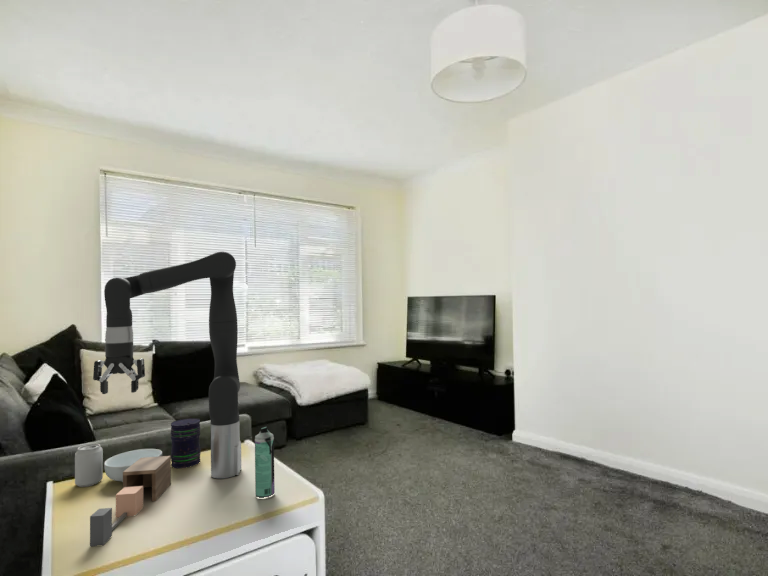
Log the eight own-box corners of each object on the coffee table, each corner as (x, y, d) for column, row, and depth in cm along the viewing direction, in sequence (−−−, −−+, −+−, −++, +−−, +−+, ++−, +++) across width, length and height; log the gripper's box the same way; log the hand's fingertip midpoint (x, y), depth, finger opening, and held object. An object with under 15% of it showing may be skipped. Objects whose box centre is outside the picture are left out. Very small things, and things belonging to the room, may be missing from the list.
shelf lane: (170, 484, 138) (170, 455, 138) (155, 501, 126) (155, 469, 126) (141, 486, 137) (141, 457, 137) (122, 503, 125) (122, 472, 125)
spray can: (278, 493, 129) (277, 425, 130) (266, 501, 124) (265, 430, 125) (264, 490, 131) (263, 424, 132) (251, 497, 126) (250, 429, 127)
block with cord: (143, 507, 122) (143, 482, 122) (107, 545, 103) (108, 515, 103) (124, 508, 122) (124, 483, 122) (85, 547, 102) (85, 516, 102)
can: (108, 478, 144) (108, 442, 144) (90, 488, 136) (90, 449, 137) (87, 478, 145) (87, 442, 145) (68, 487, 137) (69, 449, 138)
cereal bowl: (132, 467, 154) (132, 447, 154) (173, 469, 151) (173, 449, 151) (91, 487, 137) (91, 464, 138) (136, 490, 134) (135, 467, 134)
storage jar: (167, 463, 157) (166, 422, 157) (194, 456, 163) (194, 416, 164) (175, 470, 150) (175, 427, 150) (204, 463, 156) (204, 421, 157)
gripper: (148, 339, 141) (148, 389, 140) (101, 341, 139) (101, 391, 138) (138, 341, 133) (138, 394, 132) (88, 343, 131) (88, 396, 131)
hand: (119, 392), depth 135 cm, fingers open, 8 cm apart
